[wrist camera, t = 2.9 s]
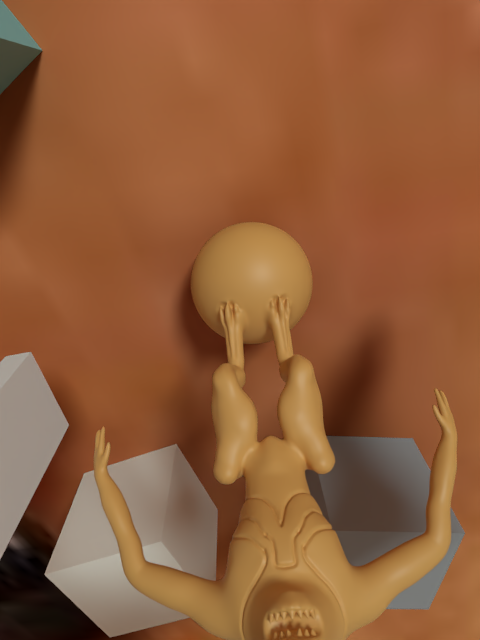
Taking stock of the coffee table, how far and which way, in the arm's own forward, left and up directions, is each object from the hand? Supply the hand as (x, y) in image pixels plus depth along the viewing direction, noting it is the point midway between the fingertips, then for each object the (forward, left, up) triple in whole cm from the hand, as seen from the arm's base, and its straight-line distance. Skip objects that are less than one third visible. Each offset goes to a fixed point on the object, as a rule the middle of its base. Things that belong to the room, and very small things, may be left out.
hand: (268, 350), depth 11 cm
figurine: (0, 0, -5) cm, 5 cm away
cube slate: (+3, -11, -5) cm, 13 cm away
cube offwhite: (-7, -10, -5) cm, 13 cm away
